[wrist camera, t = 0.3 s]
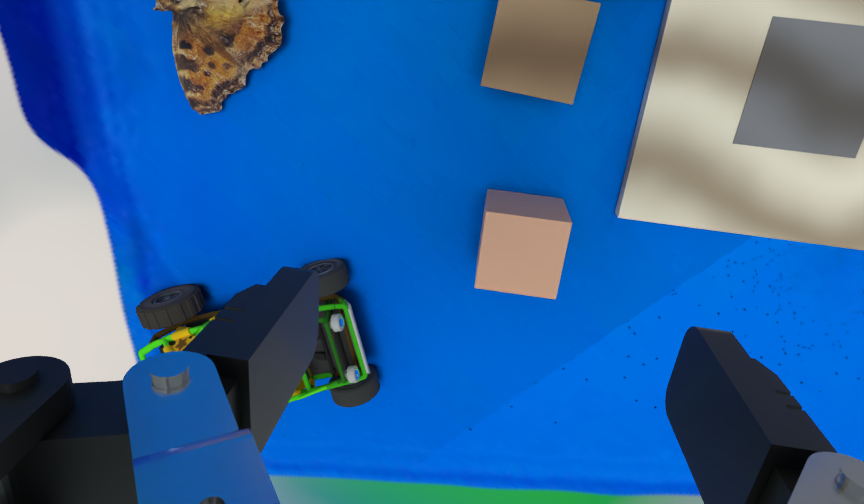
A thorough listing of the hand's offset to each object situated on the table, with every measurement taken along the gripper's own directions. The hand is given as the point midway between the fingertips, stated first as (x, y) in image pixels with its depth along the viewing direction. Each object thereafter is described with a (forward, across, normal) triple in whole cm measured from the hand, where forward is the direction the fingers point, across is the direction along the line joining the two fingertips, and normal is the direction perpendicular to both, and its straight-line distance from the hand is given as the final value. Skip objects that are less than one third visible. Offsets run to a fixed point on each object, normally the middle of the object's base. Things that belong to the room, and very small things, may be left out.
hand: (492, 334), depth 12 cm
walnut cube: (+25, -1, -5) cm, 26 cm away
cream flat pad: (+25, -18, -4) cm, 31 cm away
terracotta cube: (+25, -2, +6) cm, 26 cm away
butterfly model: (+27, +16, -4) cm, 31 cm away
